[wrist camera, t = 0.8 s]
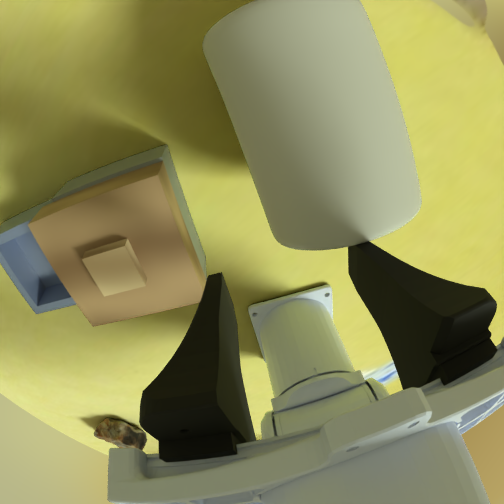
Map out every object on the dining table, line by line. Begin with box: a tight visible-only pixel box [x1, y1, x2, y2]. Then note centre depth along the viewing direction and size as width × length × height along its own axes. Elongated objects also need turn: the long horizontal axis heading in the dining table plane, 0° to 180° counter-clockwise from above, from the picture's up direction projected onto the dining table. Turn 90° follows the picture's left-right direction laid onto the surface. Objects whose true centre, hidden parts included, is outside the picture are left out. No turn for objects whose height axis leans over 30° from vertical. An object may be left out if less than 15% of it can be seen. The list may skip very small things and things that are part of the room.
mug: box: [203, 0, 422, 250], centre depth 15 cm, size 12×8×11 cm
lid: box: [28, 161, 206, 326], centre depth 18 cm, size 9×9×3 cm
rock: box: [94, 418, 147, 450], centre depth 39 cm, size 9×6×10 cm
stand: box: [52, 144, 207, 280], centre depth 21 cm, size 10×8×3 cm
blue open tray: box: [0, 199, 76, 314], centre depth 21 cm, size 8×8×3 cm
